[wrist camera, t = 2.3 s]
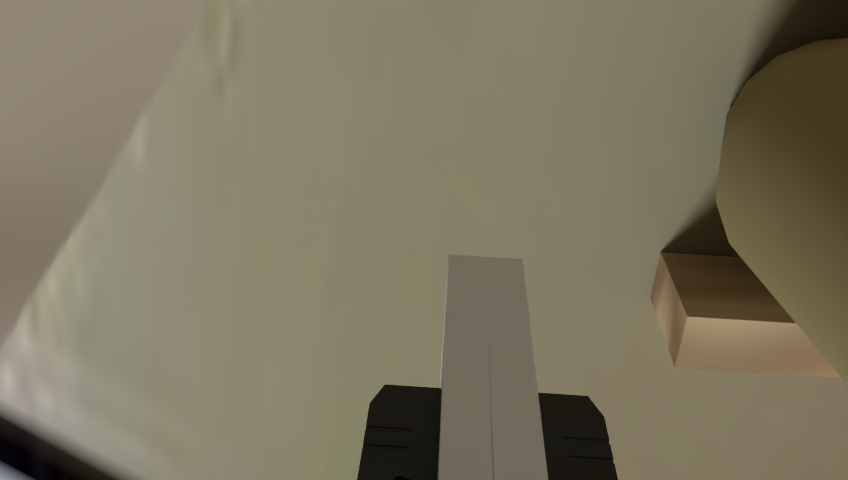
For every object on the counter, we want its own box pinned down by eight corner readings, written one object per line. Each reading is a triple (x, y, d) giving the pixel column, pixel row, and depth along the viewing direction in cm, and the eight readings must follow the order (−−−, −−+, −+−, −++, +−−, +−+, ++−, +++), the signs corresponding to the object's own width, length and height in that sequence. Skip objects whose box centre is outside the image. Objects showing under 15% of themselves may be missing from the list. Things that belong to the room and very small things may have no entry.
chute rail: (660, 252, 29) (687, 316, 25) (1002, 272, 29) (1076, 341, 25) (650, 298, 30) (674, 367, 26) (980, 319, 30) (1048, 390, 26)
